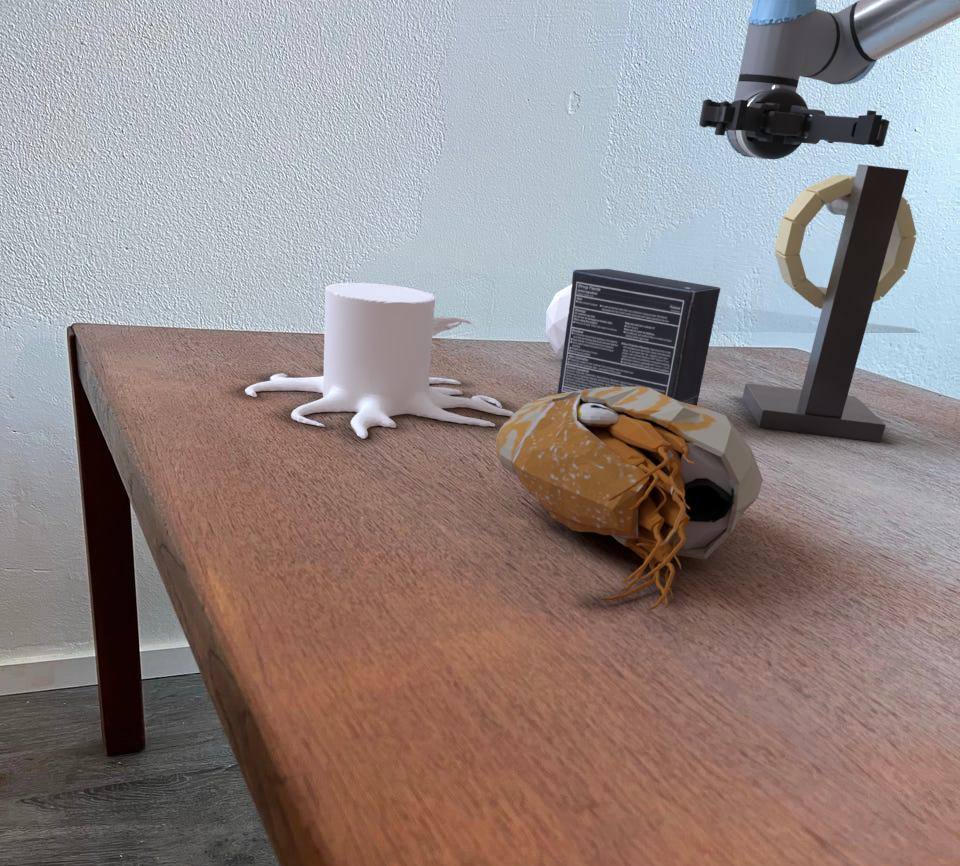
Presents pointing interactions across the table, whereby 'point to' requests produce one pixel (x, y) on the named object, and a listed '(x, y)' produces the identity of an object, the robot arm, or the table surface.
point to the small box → (637, 333)
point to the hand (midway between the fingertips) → (808, 122)
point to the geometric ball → (558, 319)
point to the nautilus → (634, 471)
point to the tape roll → (801, 217)
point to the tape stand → (840, 320)
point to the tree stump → (380, 360)
